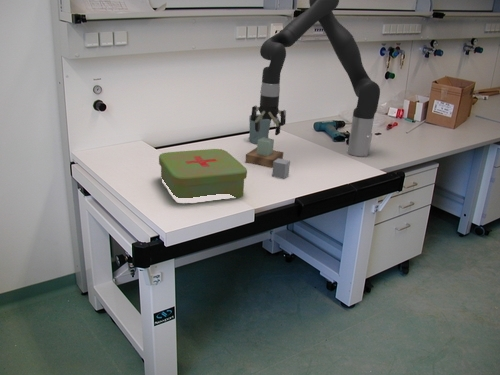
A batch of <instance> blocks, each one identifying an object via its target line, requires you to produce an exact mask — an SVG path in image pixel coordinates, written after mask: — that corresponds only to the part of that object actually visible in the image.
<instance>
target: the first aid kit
mask: <svg viewBox="0 0 500 375" xmlns="http://www.w3.org/2000/svg"><path fill="white" fill-rule="evenodd" d="M158 164H159V166H160V174H161V176H160V178H161V177H162V179H163V180H164V182H165V183H166V185H167V186H168V187H169V189H170V190H171V192H172V193H173V195H175V196H176V197H178V198H193V197H200V196H207V195H216V194H230V195H232V196H234V197H236V199H240V198H243V196H244V187H245V180H246V179H247V174H248V170H247V167H245V166H244V165H243V164H242V163H241V162H240V161H239V160H238V159H236V158H235V157H234V155H232V154H231V153H230V152H228V151H227V150H225V149H222V148H208V149H207V148H206V149H196V150H194V149H193V150H183V151H182V150H181V151H168V152H163V153H160V154H159V156H158Z"/></svg>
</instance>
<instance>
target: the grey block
mask: <svg viewBox="0 0 500 375" xmlns="http://www.w3.org/2000/svg"><path fill="white" fill-rule="evenodd" d="M290 166H291V161H290V160H289V159H285V158H283V159H279V158H278V159H276V160H275V161H274V162H273V168H272V172H271V173H272V174H271V176H272V177H274V178H279V179H283V180H285V179H286V178H287V177H288V176H289V175H290V174H289V173H290V168H291V167H290Z"/></svg>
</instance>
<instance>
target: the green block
mask: <svg viewBox="0 0 500 375" xmlns="http://www.w3.org/2000/svg"><path fill="white" fill-rule="evenodd" d="M274 142H275V139H273V138H269V137H268V138H264V137H263V138H261V139H259V140H258V143H257V144H256V146H257V147H256V148H257V154H260V155H264V156H269V155H271V154H272V153H273V150H274V146H275V145H274Z"/></svg>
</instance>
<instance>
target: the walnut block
mask: <svg viewBox="0 0 500 375" xmlns="http://www.w3.org/2000/svg"><path fill="white" fill-rule="evenodd" d="M278 158H279V159H284V151H280V150H274V149H273V153H272V154H271V155H269V156H264V155H260V154H257V147H255V148H254V149H252V150H250V151H249V152H247V153H246V154H245V164H250V165H257V166H261V167H266V168H269V169H273V162H274V161H275V160H276V159H278Z"/></svg>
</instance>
